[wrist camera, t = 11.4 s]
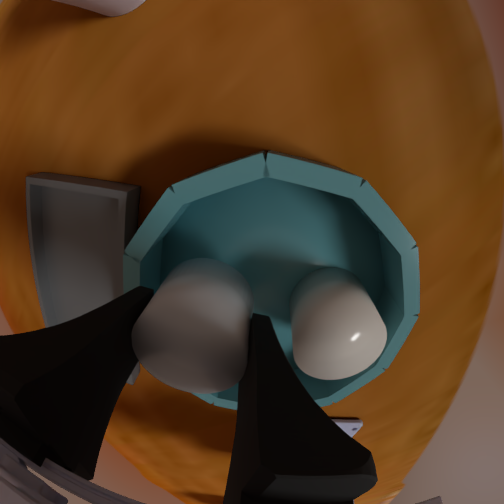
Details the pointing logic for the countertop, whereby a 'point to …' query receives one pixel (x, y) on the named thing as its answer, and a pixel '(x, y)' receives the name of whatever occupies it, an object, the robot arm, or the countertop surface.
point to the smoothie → (106, 5)
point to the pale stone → (334, 325)
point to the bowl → (284, 247)
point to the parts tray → (79, 242)
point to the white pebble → (197, 327)
